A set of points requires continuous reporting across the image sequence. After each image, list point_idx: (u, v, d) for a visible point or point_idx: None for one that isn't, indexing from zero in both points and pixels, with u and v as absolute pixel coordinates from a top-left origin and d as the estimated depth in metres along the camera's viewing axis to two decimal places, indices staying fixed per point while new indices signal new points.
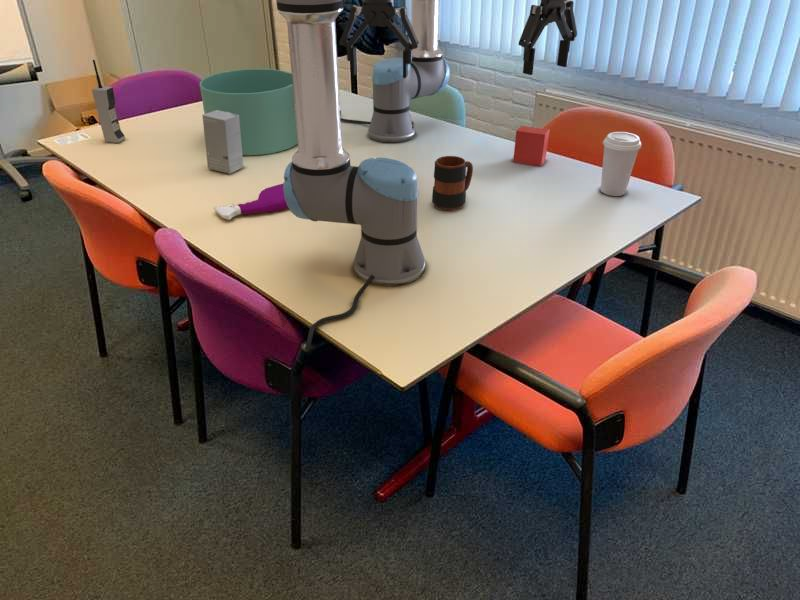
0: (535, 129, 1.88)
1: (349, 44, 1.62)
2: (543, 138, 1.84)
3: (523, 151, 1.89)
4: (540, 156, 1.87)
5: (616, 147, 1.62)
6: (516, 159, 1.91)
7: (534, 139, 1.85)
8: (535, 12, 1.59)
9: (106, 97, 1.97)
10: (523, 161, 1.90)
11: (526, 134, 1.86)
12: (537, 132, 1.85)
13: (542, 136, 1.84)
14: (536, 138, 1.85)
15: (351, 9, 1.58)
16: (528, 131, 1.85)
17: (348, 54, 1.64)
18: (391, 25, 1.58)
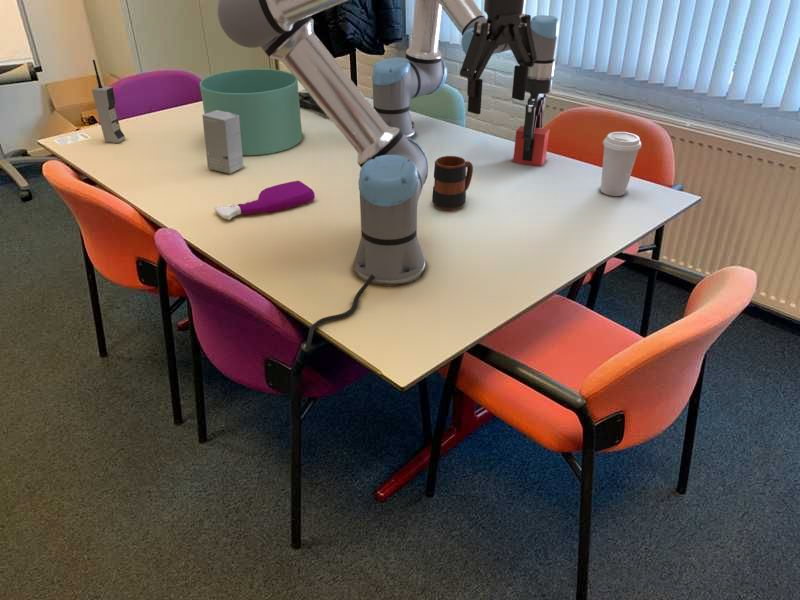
0: (535, 129, 1.88)
1: (479, 74, 1.21)
2: (543, 138, 1.84)
3: None
4: (540, 156, 1.87)
5: (616, 147, 1.62)
6: (516, 159, 1.91)
7: (534, 139, 1.85)
8: None
9: (106, 97, 1.97)
10: (523, 161, 1.90)
11: None
12: (537, 132, 1.85)
13: (542, 136, 1.84)
14: (536, 138, 1.85)
15: (485, 27, 1.17)
16: None
17: (474, 88, 1.22)
18: (520, 38, 1.24)
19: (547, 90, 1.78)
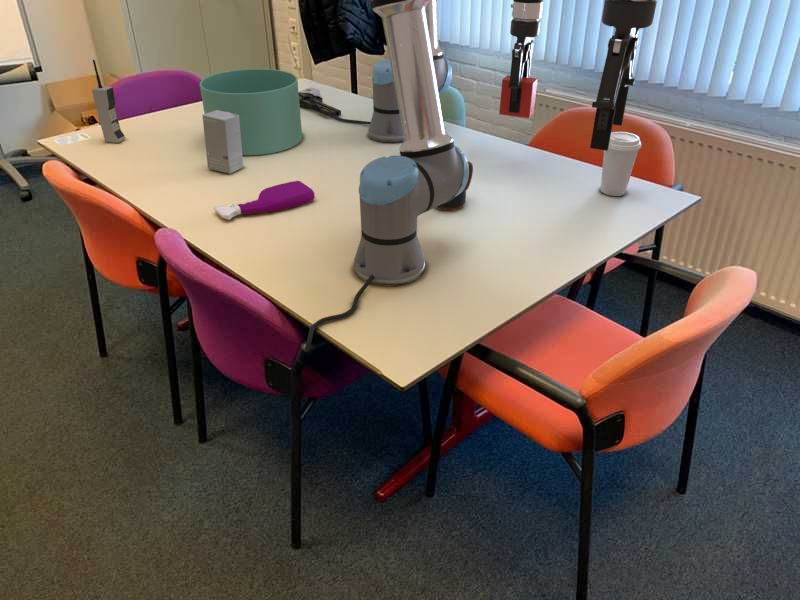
0: (522, 78, 1.75)
1: (614, 103, 0.97)
2: (531, 87, 1.71)
3: None
4: (528, 107, 1.74)
5: (616, 147, 1.62)
6: (502, 111, 1.78)
7: None
8: None
9: (106, 97, 1.97)
10: (510, 113, 1.77)
11: None
12: (524, 80, 1.72)
13: (530, 85, 1.71)
14: (523, 88, 1.72)
15: (626, 44, 0.93)
16: None
17: (608, 120, 0.98)
18: None
19: (535, 33, 1.65)
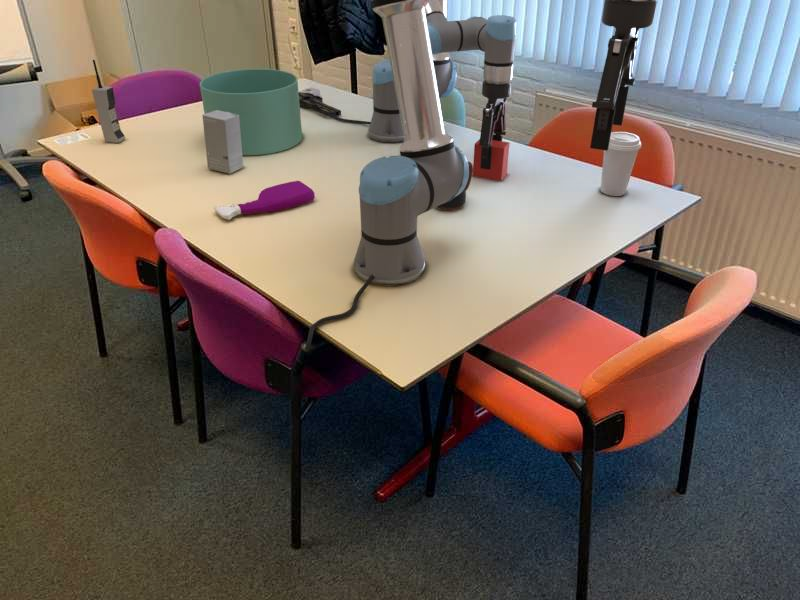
0: (494, 141, 1.78)
1: (614, 103, 0.97)
2: (502, 152, 1.75)
3: None
4: (500, 171, 1.78)
5: (616, 147, 1.62)
6: (475, 173, 1.82)
7: (493, 153, 1.76)
8: None
9: (106, 97, 1.97)
10: (483, 175, 1.81)
11: None
12: (496, 145, 1.76)
13: (501, 150, 1.75)
14: (495, 152, 1.76)
15: (626, 44, 0.93)
16: None
17: (608, 120, 0.98)
18: None
19: (506, 95, 1.67)
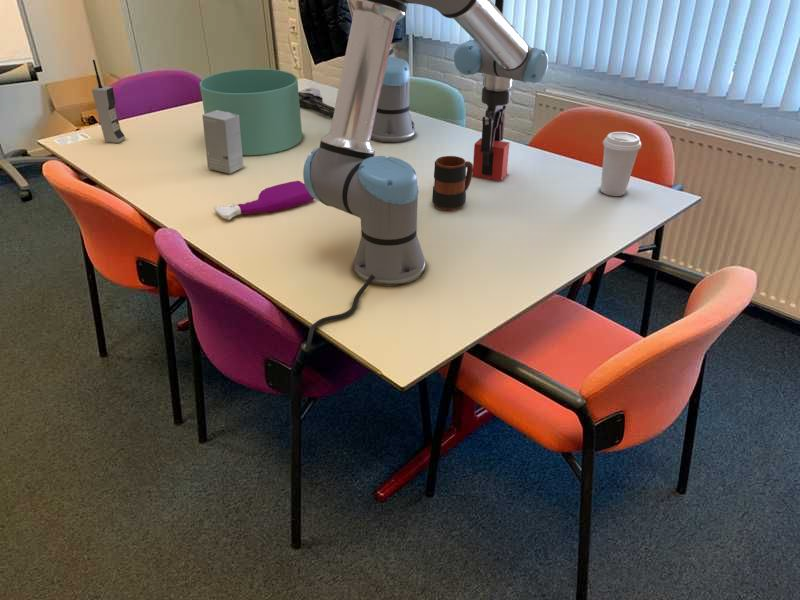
0: (494, 141, 1.78)
1: (492, 149, 1.75)
2: (502, 152, 1.75)
3: None
4: (500, 171, 1.78)
5: (616, 147, 1.62)
6: (475, 173, 1.82)
7: None
8: None
9: (106, 97, 1.97)
10: (483, 175, 1.81)
11: None
12: (496, 145, 1.76)
13: (501, 150, 1.75)
14: (495, 152, 1.76)
15: (491, 121, 1.68)
16: None
17: (489, 159, 1.76)
18: (502, 121, 1.76)
19: None
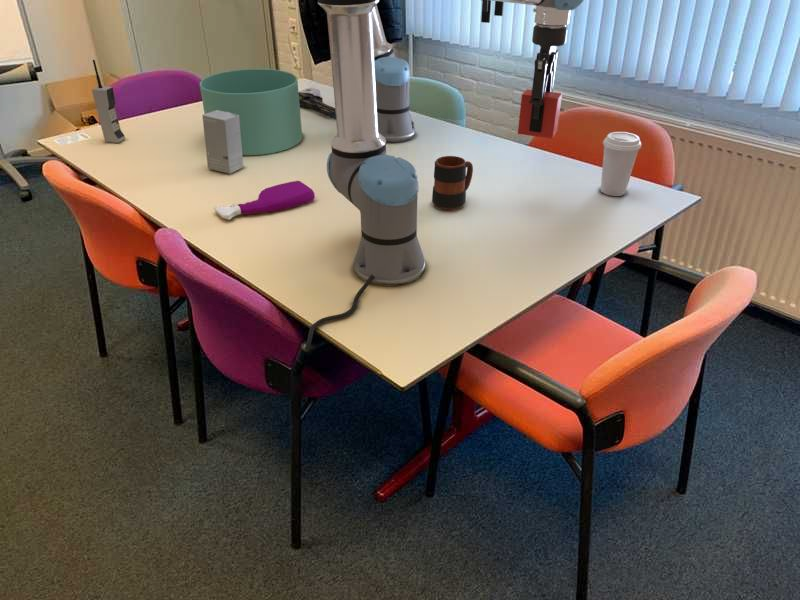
0: None
1: (543, 100, 1.49)
2: (555, 103, 1.49)
3: None
4: (551, 126, 1.52)
5: (616, 147, 1.62)
6: (521, 130, 1.55)
7: (544, 105, 1.50)
8: None
9: (106, 97, 1.97)
10: (530, 133, 1.55)
11: None
12: (547, 96, 1.50)
13: (554, 101, 1.49)
14: (546, 104, 1.50)
15: (546, 64, 1.42)
16: None
17: (539, 112, 1.50)
18: (554, 67, 1.50)
19: None
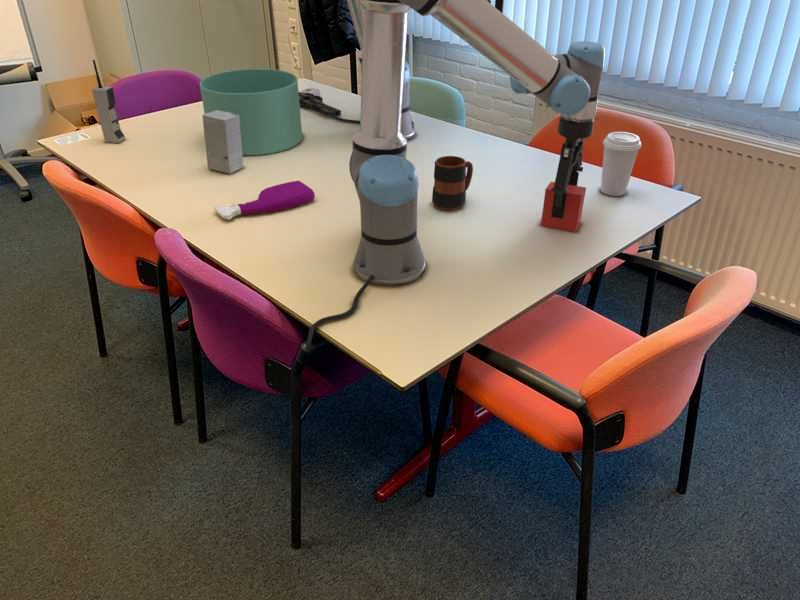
0: (568, 186, 1.52)
1: (566, 188, 1.44)
2: (579, 199, 1.49)
3: None
4: (575, 220, 1.52)
5: (616, 147, 1.62)
6: (545, 222, 1.55)
7: (568, 200, 1.50)
8: None
9: (106, 97, 1.97)
10: (553, 225, 1.55)
11: None
12: (571, 191, 1.50)
13: (578, 197, 1.49)
14: (570, 199, 1.50)
15: (572, 152, 1.40)
16: None
17: (562, 199, 1.46)
18: (581, 151, 1.49)
19: None
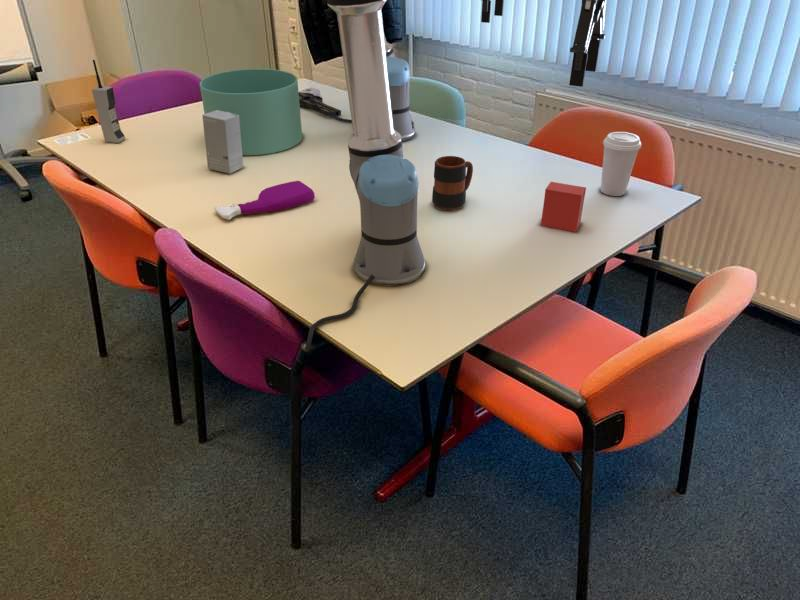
0: (568, 186, 1.52)
1: (587, 48, 1.27)
2: (579, 199, 1.49)
3: (553, 213, 1.53)
4: (575, 220, 1.52)
5: (616, 147, 1.62)
6: (545, 222, 1.55)
7: (568, 200, 1.50)
8: None
9: (106, 97, 1.97)
10: (553, 225, 1.55)
11: (558, 193, 1.50)
12: (571, 191, 1.50)
13: (578, 197, 1.49)
14: (570, 199, 1.50)
15: (595, 2, 1.24)
16: (560, 190, 1.50)
17: (582, 61, 1.29)
18: (604, 12, 1.33)
19: None
